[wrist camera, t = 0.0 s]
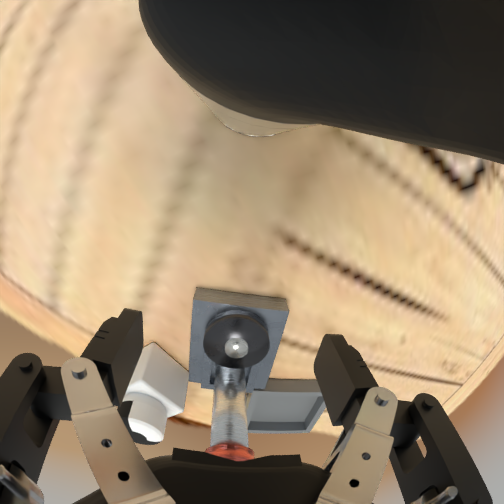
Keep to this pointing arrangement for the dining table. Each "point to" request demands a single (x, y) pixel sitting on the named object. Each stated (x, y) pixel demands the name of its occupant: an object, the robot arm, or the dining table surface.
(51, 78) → the dining table surface
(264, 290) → the dining table surface
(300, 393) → the tray
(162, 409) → the medicine bottle
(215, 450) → the pin
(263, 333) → the tensioner block
